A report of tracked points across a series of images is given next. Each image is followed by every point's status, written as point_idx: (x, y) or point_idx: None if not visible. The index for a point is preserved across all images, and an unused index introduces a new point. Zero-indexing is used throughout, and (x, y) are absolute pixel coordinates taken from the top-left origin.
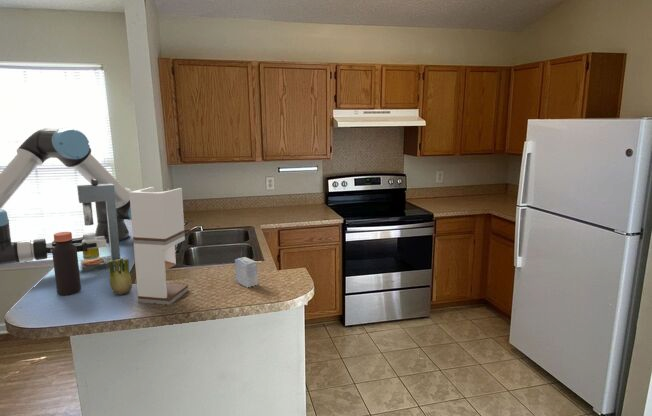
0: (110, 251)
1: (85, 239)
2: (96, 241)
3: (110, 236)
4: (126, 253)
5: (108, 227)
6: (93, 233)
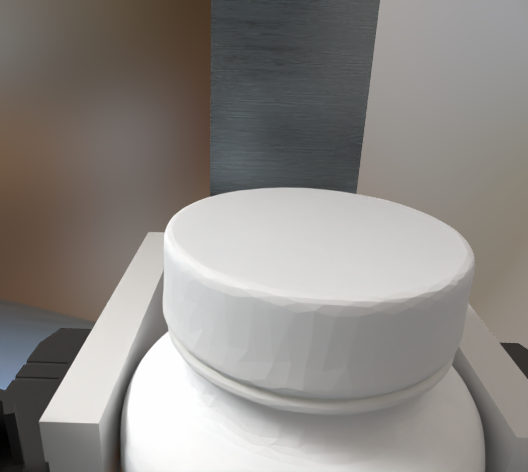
0: None
1: (400, 410)
2: (475, 317)
3: (354, 191)
4: (14, 371)
5: (268, 68)
6: (304, 194)
